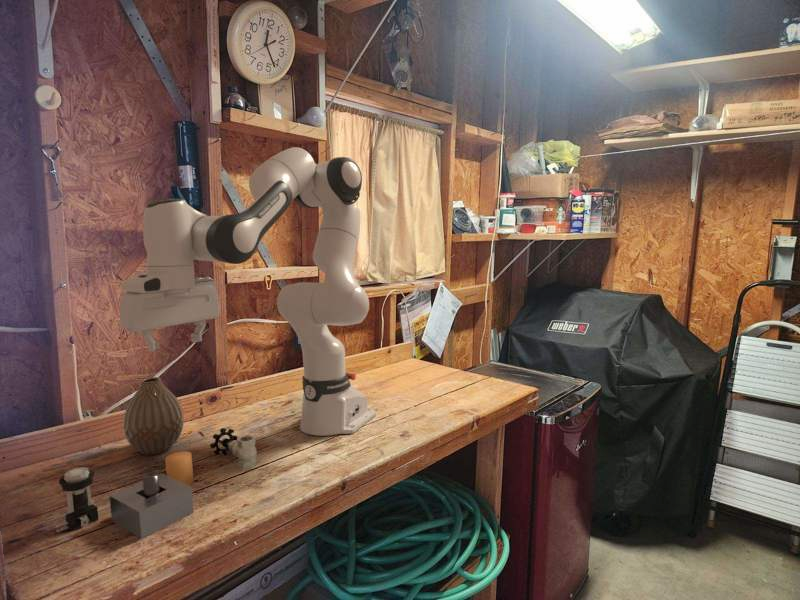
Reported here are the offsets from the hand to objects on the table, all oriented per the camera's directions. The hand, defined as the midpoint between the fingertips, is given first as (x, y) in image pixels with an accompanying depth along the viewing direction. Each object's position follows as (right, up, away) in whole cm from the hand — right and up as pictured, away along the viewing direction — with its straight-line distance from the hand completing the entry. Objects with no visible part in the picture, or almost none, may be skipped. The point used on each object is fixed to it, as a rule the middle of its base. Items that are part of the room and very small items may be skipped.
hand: (176, 346), depth 103 cm
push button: (-12, -32, -13) cm, 36 cm away
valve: (+9, -28, +12) cm, 32 cm away
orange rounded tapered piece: (0, -29, +2) cm, 29 cm away
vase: (-14, -27, +19) cm, 36 cm away
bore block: (0, -31, -10) cm, 32 cm away
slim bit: (0, -31, -10) cm, 32 cm away
